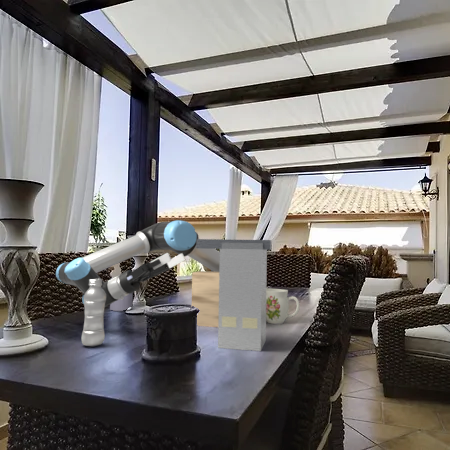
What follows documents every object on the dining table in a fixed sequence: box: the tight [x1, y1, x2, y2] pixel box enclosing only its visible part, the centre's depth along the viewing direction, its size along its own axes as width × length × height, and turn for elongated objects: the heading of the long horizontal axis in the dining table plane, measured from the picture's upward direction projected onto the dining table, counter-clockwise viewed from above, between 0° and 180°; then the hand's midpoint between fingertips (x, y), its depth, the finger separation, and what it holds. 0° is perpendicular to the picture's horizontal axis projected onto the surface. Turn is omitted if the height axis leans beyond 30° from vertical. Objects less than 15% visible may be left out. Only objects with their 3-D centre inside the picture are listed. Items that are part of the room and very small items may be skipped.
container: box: [109, 277, 134, 312], centre depth 180 cm, size 10×10×15 cm
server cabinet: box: [217, 242, 268, 352], centre depth 120 cm, size 13×13×32 cm
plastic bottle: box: [81, 278, 106, 347], centre depth 115 cm, size 6×7×20 cm
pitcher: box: [266, 287, 300, 325], centre depth 156 cm, size 11×18×14 cm, turn 69°
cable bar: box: [196, 238, 273, 251], centre depth 122 cm, size 4×24×3 cm, turn 77°
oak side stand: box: [191, 270, 219, 328], centre depth 150 cm, size 9×18×20 cm, turn 77°
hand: (177, 256), depth 126 cm, fingers open, 13 cm apart
